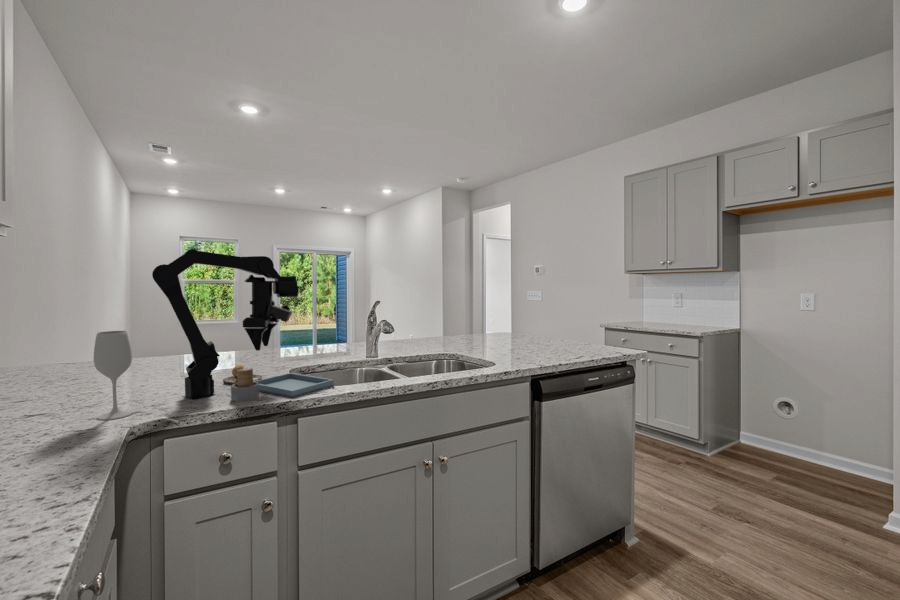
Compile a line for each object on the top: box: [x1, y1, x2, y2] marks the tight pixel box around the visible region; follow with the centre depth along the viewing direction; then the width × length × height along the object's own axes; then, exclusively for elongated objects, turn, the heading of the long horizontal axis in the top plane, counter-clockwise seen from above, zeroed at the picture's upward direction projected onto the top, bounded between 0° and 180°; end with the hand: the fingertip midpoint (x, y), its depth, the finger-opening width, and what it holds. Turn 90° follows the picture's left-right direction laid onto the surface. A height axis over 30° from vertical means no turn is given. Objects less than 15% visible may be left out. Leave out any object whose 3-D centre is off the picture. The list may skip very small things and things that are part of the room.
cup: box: [230, 382, 260, 403], centre depth 124 cm, size 7×7×4 cm
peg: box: [237, 368, 254, 387], centre depth 124 cm, size 4×4×8 cm
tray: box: [253, 372, 335, 399], centre depth 137 cm, size 16×20×2 cm
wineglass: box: [93, 330, 134, 421], centre depth 110 cm, size 8×8×21 cm
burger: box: [222, 364, 263, 386], centre depth 145 cm, size 12×12×8 cm
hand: (262, 348), depth 136 cm, fingers open, 9 cm apart
